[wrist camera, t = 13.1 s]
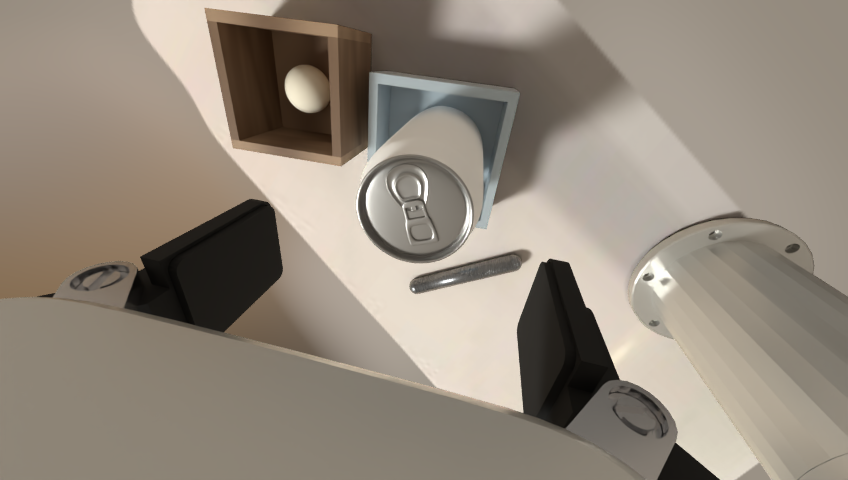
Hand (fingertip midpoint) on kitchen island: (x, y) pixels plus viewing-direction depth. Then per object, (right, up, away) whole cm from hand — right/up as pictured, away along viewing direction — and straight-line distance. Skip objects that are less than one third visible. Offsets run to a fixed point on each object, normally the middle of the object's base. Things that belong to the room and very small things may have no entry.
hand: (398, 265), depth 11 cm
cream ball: (-7, +13, +13) cm, 20 cm away
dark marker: (+5, -2, +20) cm, 21 cm away
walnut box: (-7, +13, +14) cm, 20 cm away
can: (+2, +8, +14) cm, 17 cm away
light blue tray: (+2, +9, +14) cm, 17 cm away
